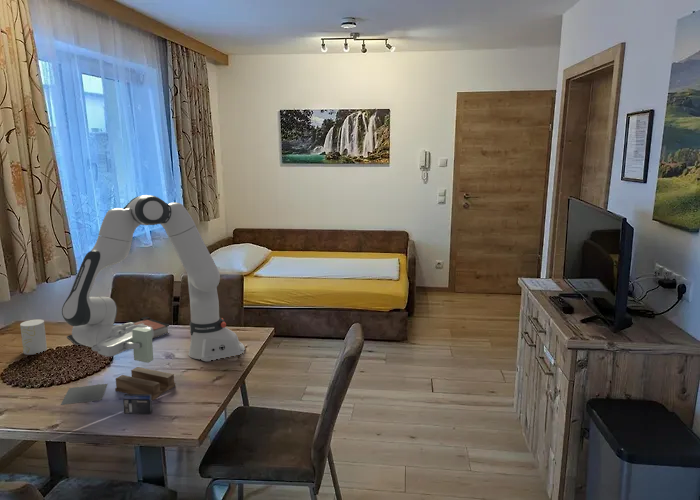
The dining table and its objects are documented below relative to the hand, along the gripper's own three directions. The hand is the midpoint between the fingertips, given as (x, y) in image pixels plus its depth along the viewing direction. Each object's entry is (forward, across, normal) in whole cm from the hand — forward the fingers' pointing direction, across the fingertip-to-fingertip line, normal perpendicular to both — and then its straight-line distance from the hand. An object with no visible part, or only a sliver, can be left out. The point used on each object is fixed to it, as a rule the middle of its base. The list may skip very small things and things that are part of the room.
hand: (144, 343), depth 165 cm
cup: (-67, +10, +17) cm, 69 cm away
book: (-41, +36, +18) cm, 57 cm away
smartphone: (-60, +26, +17) cm, 68 cm away
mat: (-16, -11, +17) cm, 26 cm away
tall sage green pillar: (-1, 0, +6) cm, 6 cm away
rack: (-1, 0, +17) cm, 17 cm away
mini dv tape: (+8, -13, +17) cm, 23 cm away
